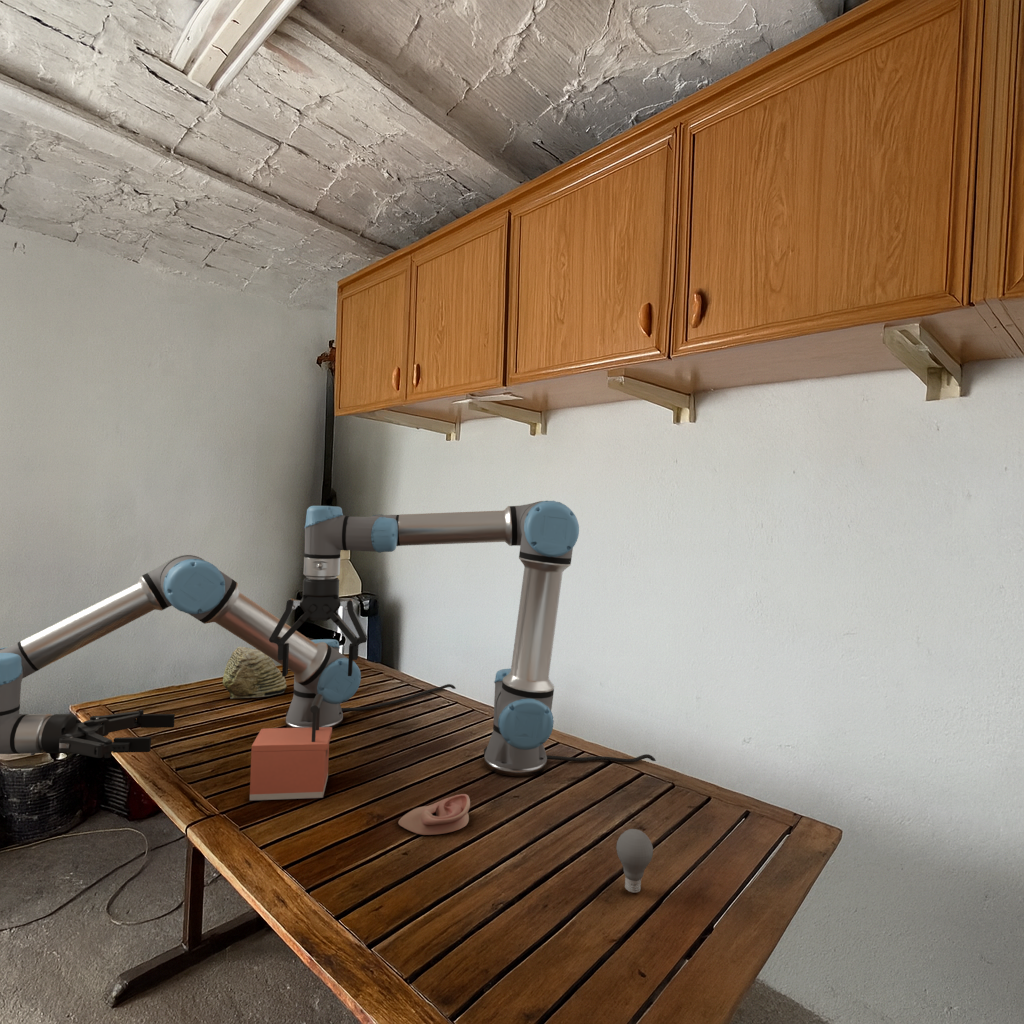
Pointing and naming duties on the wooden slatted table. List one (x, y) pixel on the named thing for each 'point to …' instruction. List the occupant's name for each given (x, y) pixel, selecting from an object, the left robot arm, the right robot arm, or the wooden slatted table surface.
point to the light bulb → (634, 857)
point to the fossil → (252, 675)
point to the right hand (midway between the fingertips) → (317, 674)
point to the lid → (295, 735)
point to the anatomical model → (438, 816)
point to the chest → (288, 774)
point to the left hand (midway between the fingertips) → (162, 732)
